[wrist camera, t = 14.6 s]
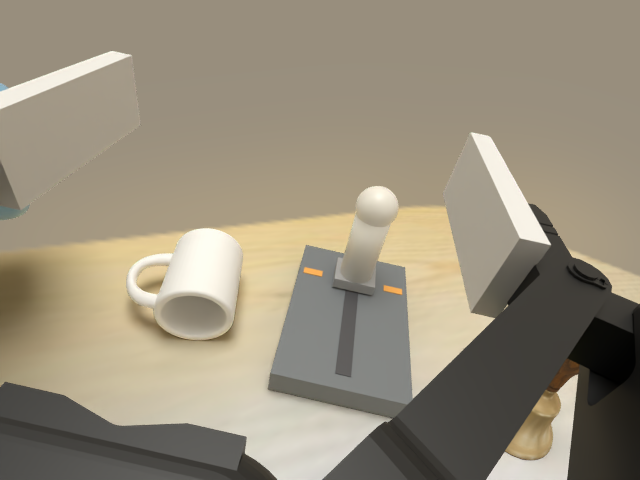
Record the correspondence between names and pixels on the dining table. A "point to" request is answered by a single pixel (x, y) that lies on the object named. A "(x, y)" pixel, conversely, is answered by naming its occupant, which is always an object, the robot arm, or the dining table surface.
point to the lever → (366, 240)
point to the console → (345, 339)
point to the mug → (194, 285)
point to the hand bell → (542, 419)
